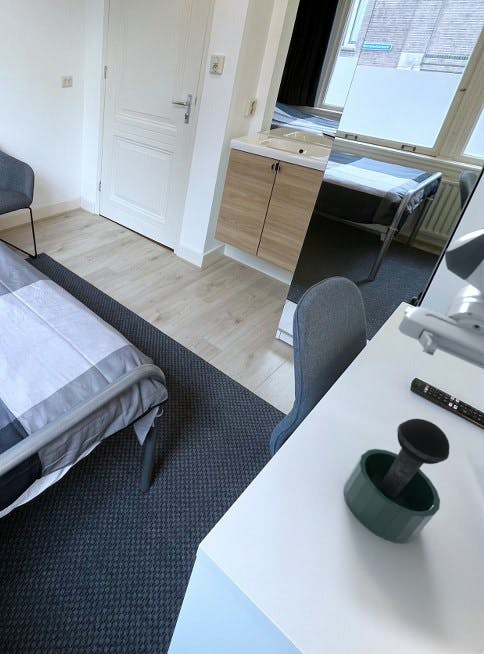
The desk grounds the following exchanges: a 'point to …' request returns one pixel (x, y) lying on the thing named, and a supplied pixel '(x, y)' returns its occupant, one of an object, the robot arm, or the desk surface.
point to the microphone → (414, 453)
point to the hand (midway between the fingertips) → (462, 365)
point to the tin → (389, 499)
